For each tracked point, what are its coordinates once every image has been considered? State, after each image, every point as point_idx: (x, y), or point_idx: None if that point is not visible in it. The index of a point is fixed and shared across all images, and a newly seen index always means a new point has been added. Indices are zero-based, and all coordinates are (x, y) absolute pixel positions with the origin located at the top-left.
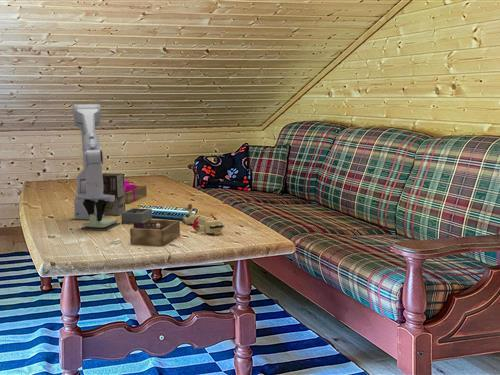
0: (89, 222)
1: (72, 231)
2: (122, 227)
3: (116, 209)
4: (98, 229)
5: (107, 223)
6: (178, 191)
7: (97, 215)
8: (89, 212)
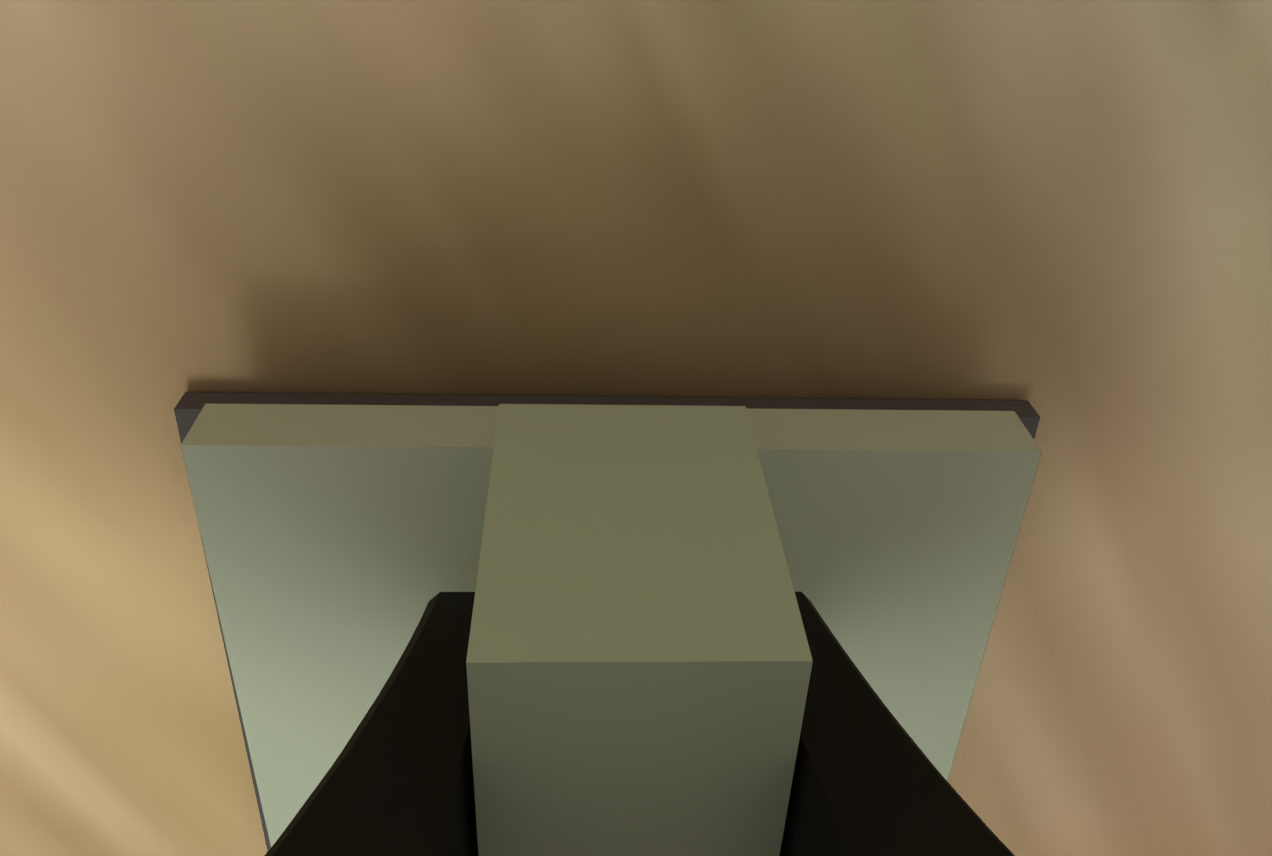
0: (885, 674)
1: (1238, 50)
2: (25, 739)
3: None
4: (479, 403)
5: (255, 659)
6: None
7: (441, 725)
8: (867, 817)
